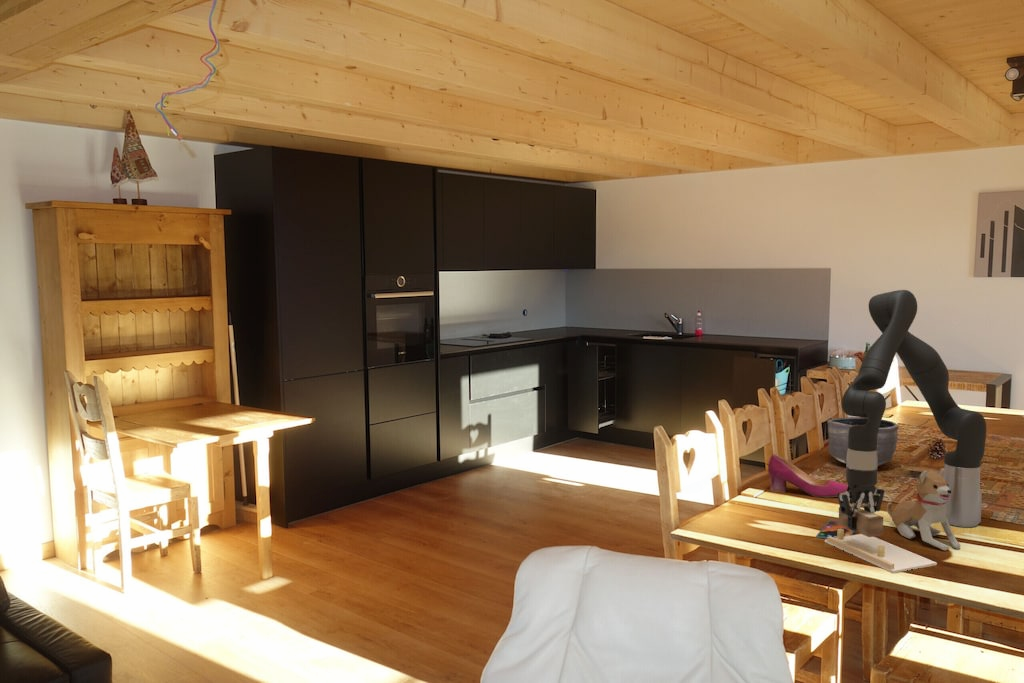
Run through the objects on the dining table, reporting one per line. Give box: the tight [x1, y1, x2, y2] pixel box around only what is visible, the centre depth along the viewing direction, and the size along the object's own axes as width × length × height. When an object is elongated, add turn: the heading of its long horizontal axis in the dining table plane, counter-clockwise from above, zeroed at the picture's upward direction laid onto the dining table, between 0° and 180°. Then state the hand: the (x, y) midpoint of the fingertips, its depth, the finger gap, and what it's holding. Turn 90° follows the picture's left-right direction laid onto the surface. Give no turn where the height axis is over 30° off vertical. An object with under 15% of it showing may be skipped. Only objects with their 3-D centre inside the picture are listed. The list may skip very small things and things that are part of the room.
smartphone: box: [816, 520, 856, 540], centre depth 228 cm, size 8×1×15 cm
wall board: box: [824, 529, 938, 574], centre depth 211 cm, size 14×24×3 cm, turn 20°
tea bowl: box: [826, 416, 899, 467], centre depth 300 cm, size 25×22×17 cm
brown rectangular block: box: [837, 506, 884, 537], centre depth 213 cm, size 11×4×5 cm, turn 20°
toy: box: [886, 467, 961, 551], centre depth 222 cm, size 10×24×20 cm, turn 16°
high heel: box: [767, 453, 848, 498], centre depth 266 cm, size 26×9×12 cm, turn 62°
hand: (860, 528), depth 214 cm, fingers closed on brown rectangular block, 4 cm apart
